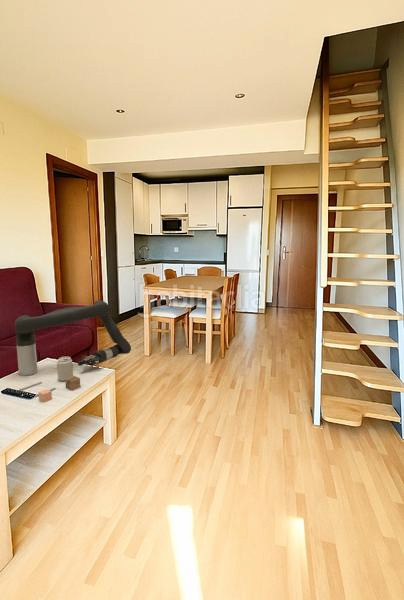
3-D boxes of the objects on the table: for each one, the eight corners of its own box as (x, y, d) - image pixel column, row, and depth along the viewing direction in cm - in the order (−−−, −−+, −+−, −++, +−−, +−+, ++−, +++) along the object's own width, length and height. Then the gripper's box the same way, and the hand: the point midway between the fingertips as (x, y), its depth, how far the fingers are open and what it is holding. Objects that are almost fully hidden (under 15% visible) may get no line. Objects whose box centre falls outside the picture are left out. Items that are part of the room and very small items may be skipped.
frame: (17, 390, 150) (17, 390, 150) (40, 382, 160) (40, 381, 160) (32, 398, 143) (32, 397, 143) (56, 389, 153) (55, 388, 153)
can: (67, 382, 161) (66, 361, 159) (55, 381, 162) (53, 360, 160) (75, 376, 168) (74, 356, 166) (64, 375, 169) (62, 355, 167)
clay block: (39, 400, 142) (38, 392, 141) (47, 396, 145) (46, 389, 144) (43, 402, 140) (43, 394, 139) (51, 399, 143) (51, 391, 142)
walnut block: (65, 388, 154) (65, 378, 153) (74, 384, 158) (73, 375, 158) (71, 390, 152) (71, 381, 151) (80, 387, 156) (79, 377, 155)
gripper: (95, 347, 188) (71, 355, 174) (110, 351, 181) (85, 360, 167) (96, 359, 190) (71, 367, 175) (110, 363, 183) (86, 372, 168)
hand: (78, 363), depth 171 cm, fingers closed
